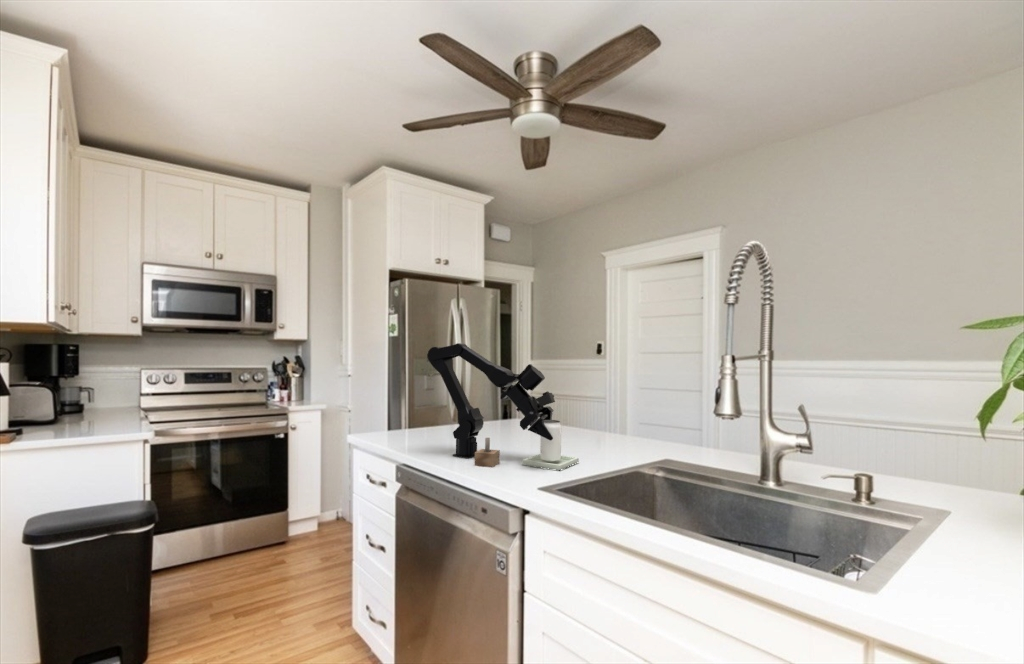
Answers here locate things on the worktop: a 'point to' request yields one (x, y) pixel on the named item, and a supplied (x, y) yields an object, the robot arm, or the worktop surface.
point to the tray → (557, 465)
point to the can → (551, 442)
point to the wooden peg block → (487, 456)
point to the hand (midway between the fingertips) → (554, 437)
